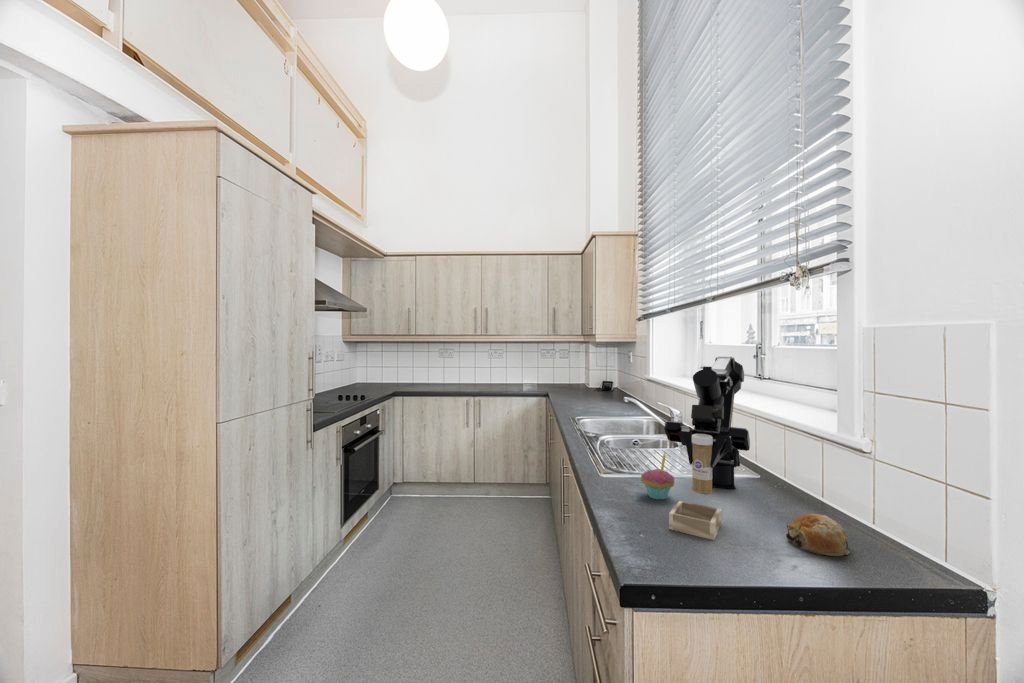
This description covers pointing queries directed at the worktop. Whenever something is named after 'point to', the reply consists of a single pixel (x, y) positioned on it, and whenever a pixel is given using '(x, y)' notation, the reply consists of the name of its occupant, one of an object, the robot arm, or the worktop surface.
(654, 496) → the cupcake
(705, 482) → the sprinkles bottle
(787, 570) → the worktop surface
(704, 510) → the box
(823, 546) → the bread roll
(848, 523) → the worktop surface
